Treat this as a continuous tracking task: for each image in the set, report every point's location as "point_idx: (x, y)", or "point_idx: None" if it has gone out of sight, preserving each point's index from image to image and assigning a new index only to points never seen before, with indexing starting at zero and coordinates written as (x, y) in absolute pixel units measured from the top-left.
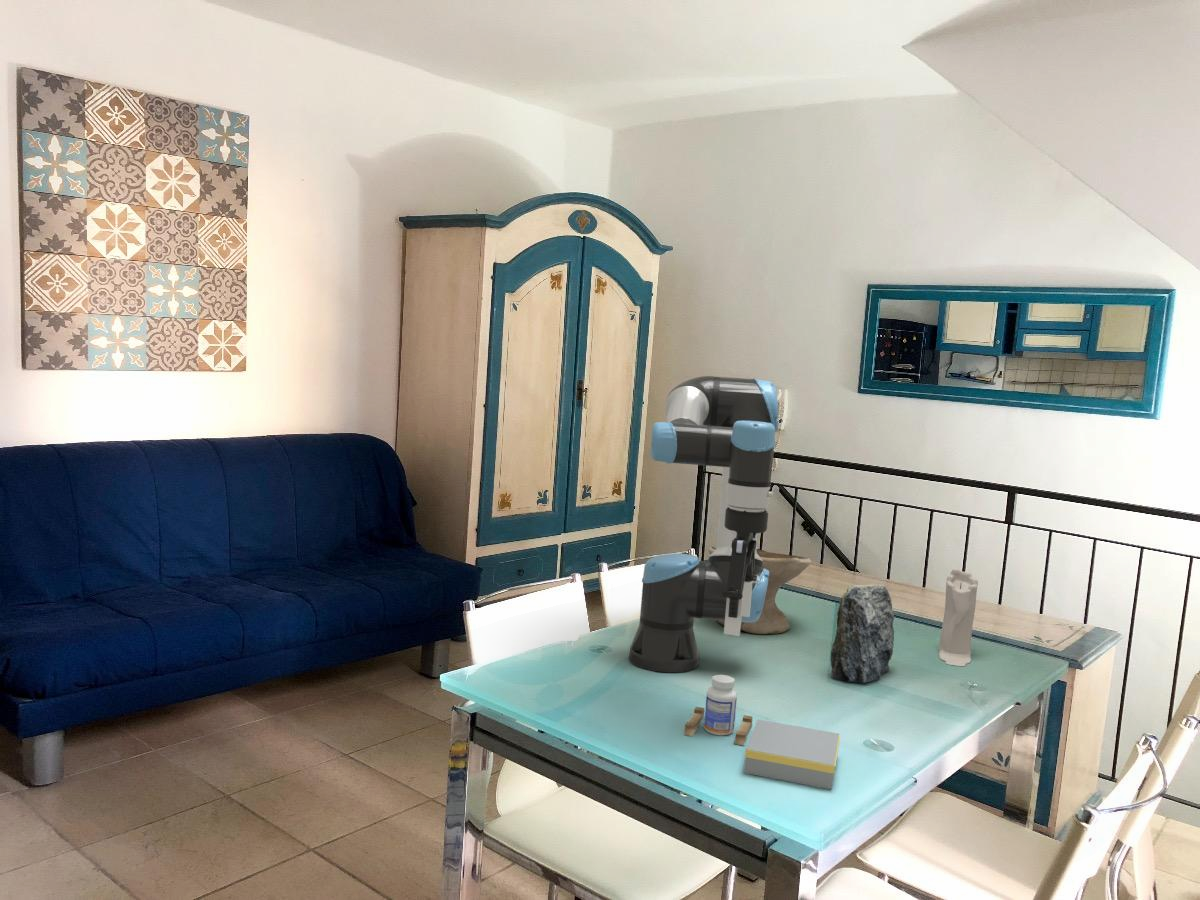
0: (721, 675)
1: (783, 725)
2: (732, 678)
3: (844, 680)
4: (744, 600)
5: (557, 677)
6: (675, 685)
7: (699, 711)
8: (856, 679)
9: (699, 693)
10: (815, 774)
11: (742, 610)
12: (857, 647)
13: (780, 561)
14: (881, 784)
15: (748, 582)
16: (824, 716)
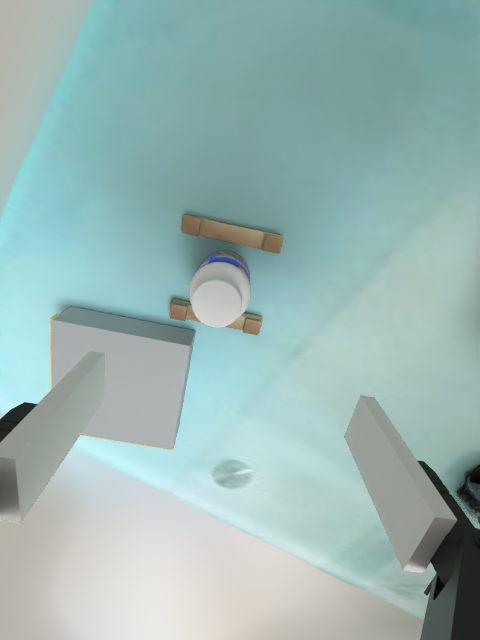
0: (235, 301)
1: (176, 382)
2: (223, 324)
3: (473, 473)
4: (373, 465)
5: None
6: (444, 194)
7: (264, 243)
8: (467, 490)
9: (400, 245)
10: None
11: (359, 431)
12: None
13: None
14: (110, 459)
15: (411, 557)
16: (320, 429)
